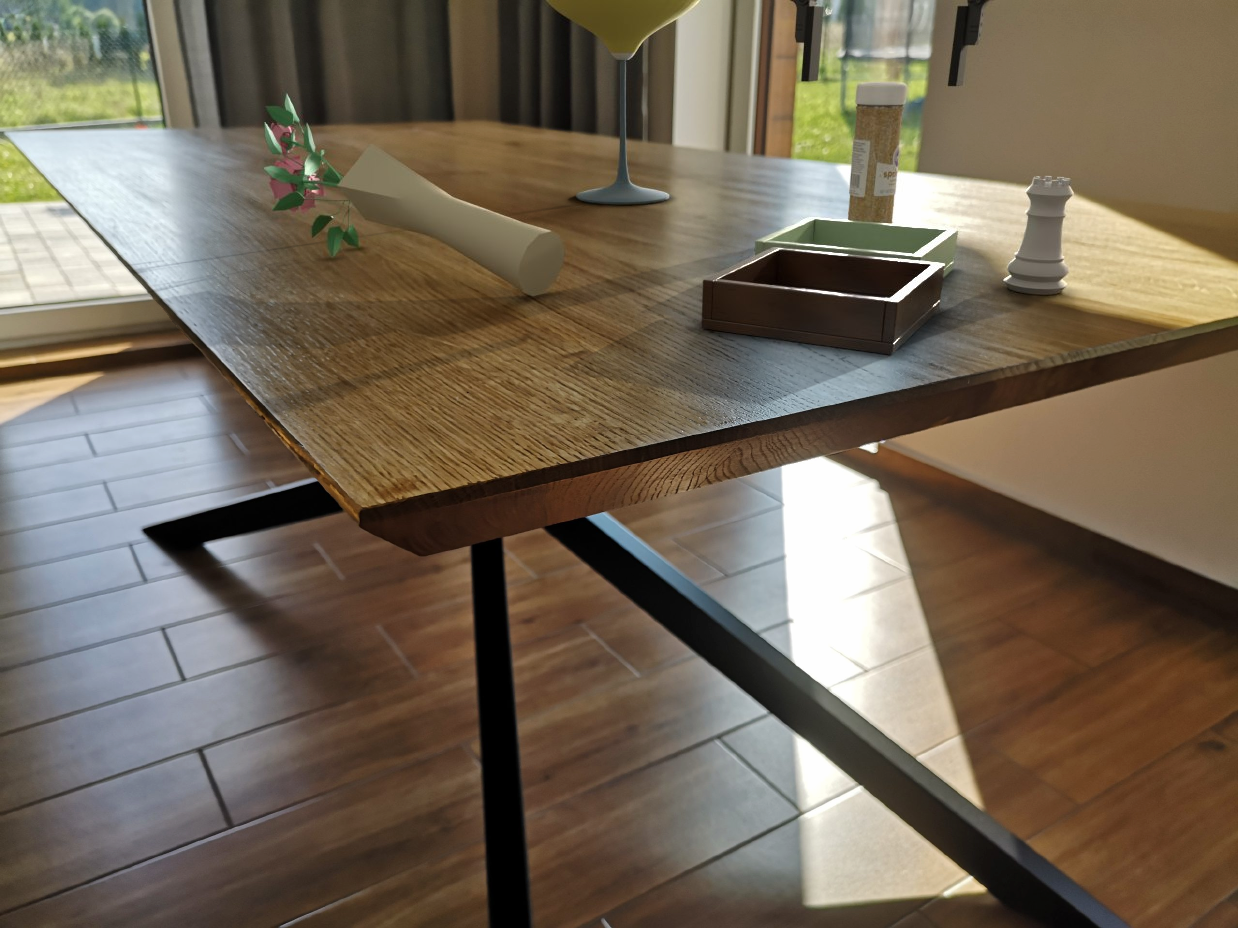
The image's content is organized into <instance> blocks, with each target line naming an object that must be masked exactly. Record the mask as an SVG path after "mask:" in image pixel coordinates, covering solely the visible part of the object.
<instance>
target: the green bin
mask: <svg viewBox="0 0 1238 928" xmlns="http://www.w3.org/2000/svg"><path fill="white" fill-rule="evenodd" d="M958 234H959V229H958V228H947V227H946V228H945V227H934V226H924V225H923V226H922V225H921V226H920V225H909V224H898V223H893V224H886V223H874V222H862V221H850V220H848V219H837V218H825V217H823V218H822V217H814V216H809V217H806V218H804V219H802V220H799V221H798V222H795V223H793V224H791V225H789V226H786V227H784V228H781V229H779V230H777V231H775V232H772V233H770V234H768V235H766V236H763V237H761V238H758V239H756V240H755V241H754V256H755V255H757V254H759V253H761V252H763V251H766V250H768V249H770V248H772V247H778V248H788V249H799V250H809V251H819V252H830V253H840V254H850V255H861V256H871V257H881V258H891V259H902V260H912V261H922V262H933V263H942V264H945V266H944V274H943V278H945V277H946V276H947V275H948V274H949V273H951V272H952V271H953V270H954V267H955V258H956V250H957V241H958Z"/></svg>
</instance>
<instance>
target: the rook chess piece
mask: <svg viewBox="0 0 1238 928" xmlns="http://www.w3.org/2000/svg"><path fill="white" fill-rule="evenodd" d="M1052 177H1053V176H1051V175H1044V178H1042V176H1034V177H1032V182H1031V184H1030V185H1029V187H1028V188H1027V189H1026V190H1025V193H1026V195H1027V197H1028V199H1029V202H1030V203H1029V208H1028V209H1027V210H1026V211H1025V214H1026V216H1027V221H1026V225H1025V226H1026V227H1025V230H1024V233H1023V237H1022V240H1021V244H1020V245H1019V248H1018V250H1017V251H1016V252H1015V253H1014V258H1013V259H1011V261H1009V262H1008V264H1007V266H1006V267H1005V268H1006V270H1007V272H1008V274H1010V275H1009V276H1007V277H1005V278H1004V279H1003V281H1004V284H1005V285H1006V287H1007V288H1008V289H1009V290H1011V291H1013V292H1016V293H1022V294H1027V295H1042V296H1045V295H1046V296H1047V295H1056V294H1060V293H1061V292H1062V291H1064V289H1065V288H1066V287H1067V286H1068V283H1067V282H1066V281H1065V280H1064V279H1063V278H1065V277H1066V276H1067V275H1068V274H1069V267H1068V265H1067V264H1066V262H1065V261H1064V259H1065V258H1066V257H1065V256H1064V255H1063V249H1062V243H1063V242H1062V241H1063V240H1062V239H1063V238H1062V237H1063V225H1064V224H1063V223H1064V219H1065V218H1066V217H1067V216H1068V213H1067V211H1066V204H1067V202H1068V201H1069V200H1070V199H1071V198H1072V197H1073V195H1074V194H1075V193H1074V191H1073V188H1072V187H1071V180H1072V179H1071V178H1070V177H1068V178H1067V177H1064V176H1057V177H1056V179H1052Z"/></svg>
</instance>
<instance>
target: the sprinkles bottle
mask: <svg viewBox="0 0 1238 928" xmlns="http://www.w3.org/2000/svg"><path fill="white" fill-rule="evenodd" d="M907 93H908V85H907V84H906V83H905V82H899V81H865V82H859V83H857V85H856V91H855V101H854V102H855V104H856V106H855V110H856V113H855V126H854V137H853V140H852V141H853V142H852V152H851V153H852V154H851V166H850V178H849V190H848V194H849V201H848V202H849V203H848V213H847V220H850V221H862V222H874V223H886V224H894V222H893V218H894V217H893V216H894V206H895V195H896V191H897V183H898V182H897V181H898V172H899V162H900V161H899V160H900V149H901V133H902V122H903V121H902V120H903V111H904V105H906V103H907V95H908V94H907Z"/></svg>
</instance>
